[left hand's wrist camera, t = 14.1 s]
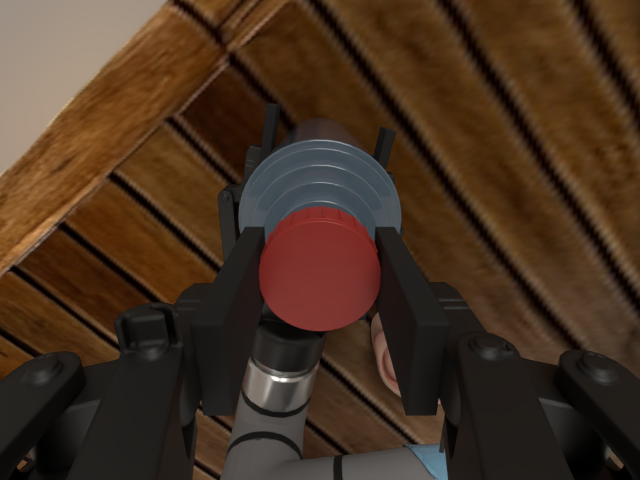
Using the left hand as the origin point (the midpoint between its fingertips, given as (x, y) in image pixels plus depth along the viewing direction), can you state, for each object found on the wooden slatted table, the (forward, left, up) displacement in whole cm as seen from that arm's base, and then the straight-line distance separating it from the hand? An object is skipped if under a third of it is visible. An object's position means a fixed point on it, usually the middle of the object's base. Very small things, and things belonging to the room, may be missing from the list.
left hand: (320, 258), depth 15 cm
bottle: (0, 0, -23) cm, 23 cm away
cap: (0, 0, +2) cm, 2 cm away
